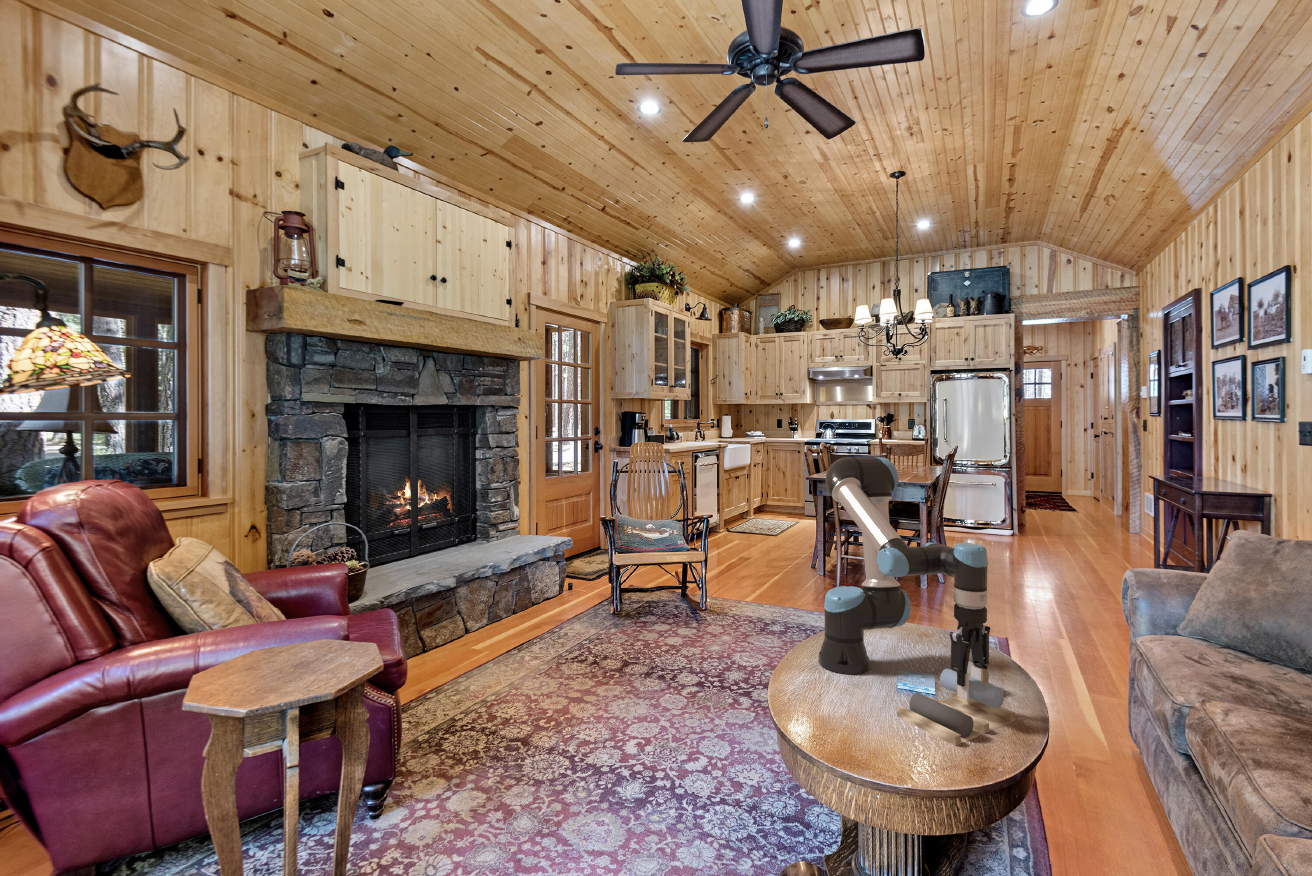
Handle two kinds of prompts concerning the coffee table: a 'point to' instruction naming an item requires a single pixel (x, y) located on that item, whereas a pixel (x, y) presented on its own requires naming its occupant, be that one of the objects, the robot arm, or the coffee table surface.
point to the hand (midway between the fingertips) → (969, 695)
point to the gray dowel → (974, 689)
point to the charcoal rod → (942, 714)
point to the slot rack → (980, 713)
